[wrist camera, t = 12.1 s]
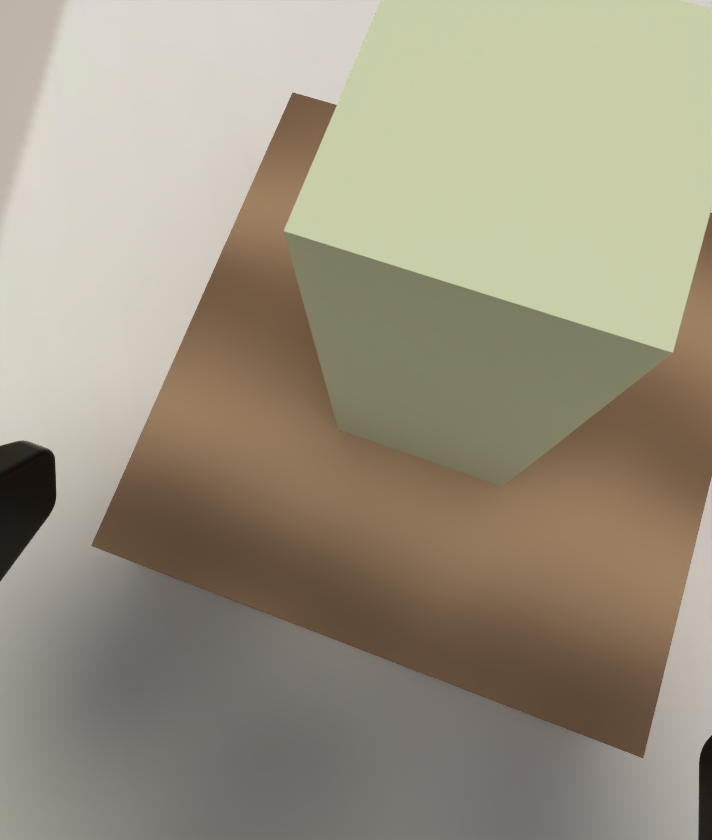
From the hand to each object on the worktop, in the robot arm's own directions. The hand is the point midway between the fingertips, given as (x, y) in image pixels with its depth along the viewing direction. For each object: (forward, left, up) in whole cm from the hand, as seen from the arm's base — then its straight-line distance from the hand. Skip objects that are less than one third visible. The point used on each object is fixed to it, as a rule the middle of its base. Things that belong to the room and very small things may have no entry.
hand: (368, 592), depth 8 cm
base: (+3, +5, -11) cm, 12 cm away
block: (+3, +5, -8) cm, 10 cm away
